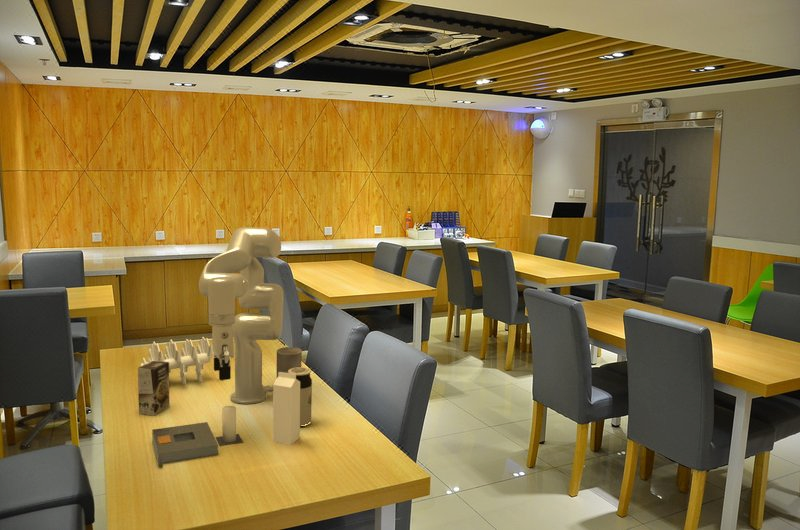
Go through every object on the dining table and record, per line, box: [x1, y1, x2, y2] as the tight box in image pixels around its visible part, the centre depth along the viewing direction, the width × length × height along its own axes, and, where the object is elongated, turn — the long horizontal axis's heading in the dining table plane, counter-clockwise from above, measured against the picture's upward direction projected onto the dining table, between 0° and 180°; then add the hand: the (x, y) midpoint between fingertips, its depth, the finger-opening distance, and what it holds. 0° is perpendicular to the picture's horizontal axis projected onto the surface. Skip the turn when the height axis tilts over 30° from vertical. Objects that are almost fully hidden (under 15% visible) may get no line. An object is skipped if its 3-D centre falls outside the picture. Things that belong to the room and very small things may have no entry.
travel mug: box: [288, 366, 313, 426], centre depth 205 cm, size 8×8×18 cm
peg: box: [221, 405, 237, 443], centre depth 189 cm, size 4×4×10 cm
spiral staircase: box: [139, 336, 214, 386], centre depth 239 cm, size 18×18×25 cm
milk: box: [272, 372, 301, 446], centre depth 190 cm, size 6×6×22 cm
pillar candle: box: [275, 346, 303, 379], centre depth 244 cm, size 10×10×15 cm
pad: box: [214, 433, 244, 447], centre depth 190 cm, size 7×7×1 cm
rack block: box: [151, 421, 219, 468], centre depth 184 cm, size 16×18×4 cm
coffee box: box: [137, 361, 171, 417], centre depth 213 cm, size 9×6×16 cm
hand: (222, 374), depth 188 cm, fingers open, 9 cm apart
